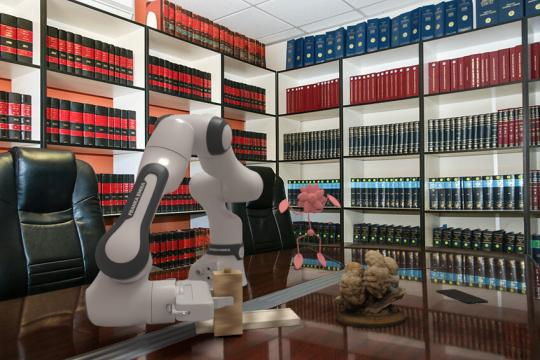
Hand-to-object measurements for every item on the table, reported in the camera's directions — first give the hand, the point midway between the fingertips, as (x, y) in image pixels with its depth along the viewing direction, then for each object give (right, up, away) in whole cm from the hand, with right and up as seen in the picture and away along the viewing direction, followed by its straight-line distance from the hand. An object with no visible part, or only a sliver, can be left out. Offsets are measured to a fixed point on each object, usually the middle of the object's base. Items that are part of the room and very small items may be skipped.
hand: (231, 297), depth 90 cm
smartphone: (+65, -9, +30) cm, 72 cm away
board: (+3, -8, +7) cm, 11 cm away
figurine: (+26, -11, +75) cm, 80 cm away
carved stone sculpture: (+33, -8, +9) cm, 36 cm away
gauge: (-2, -8, +3) cm, 9 cm away
